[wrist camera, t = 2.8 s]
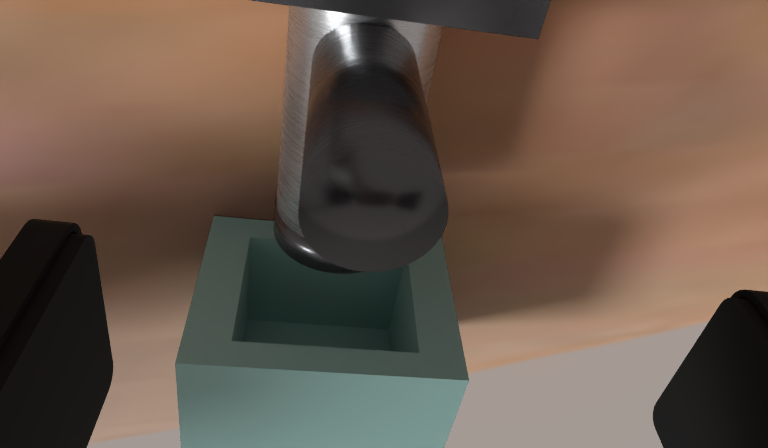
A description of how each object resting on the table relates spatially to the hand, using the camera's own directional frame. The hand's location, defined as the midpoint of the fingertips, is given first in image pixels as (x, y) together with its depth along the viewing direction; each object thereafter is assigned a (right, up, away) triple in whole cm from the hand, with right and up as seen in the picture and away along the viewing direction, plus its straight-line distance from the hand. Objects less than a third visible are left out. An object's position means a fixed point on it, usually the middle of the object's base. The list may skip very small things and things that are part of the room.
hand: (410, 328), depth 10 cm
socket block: (-3, -1, +17) cm, 17 cm away
